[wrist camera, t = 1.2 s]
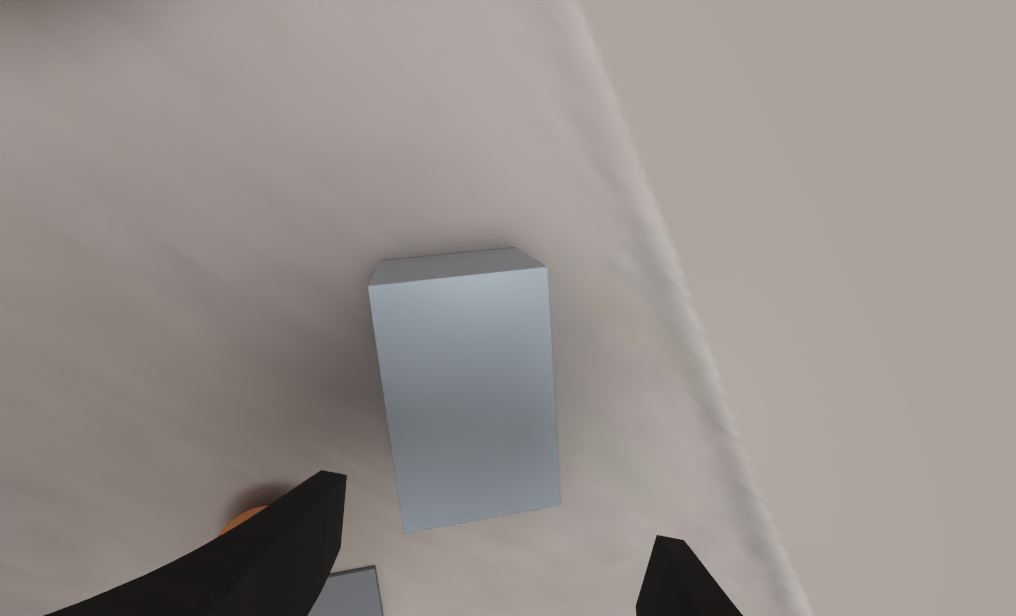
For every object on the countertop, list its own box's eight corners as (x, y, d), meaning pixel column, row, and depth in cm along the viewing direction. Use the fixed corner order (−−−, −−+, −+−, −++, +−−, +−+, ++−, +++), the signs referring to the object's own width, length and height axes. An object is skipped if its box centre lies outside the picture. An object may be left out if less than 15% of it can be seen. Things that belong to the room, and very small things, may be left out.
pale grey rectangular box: (405, 455, 24) (403, 533, 19) (378, 260, 22) (367, 286, 16) (528, 435, 25) (561, 504, 19) (514, 247, 23) (547, 266, 17)
